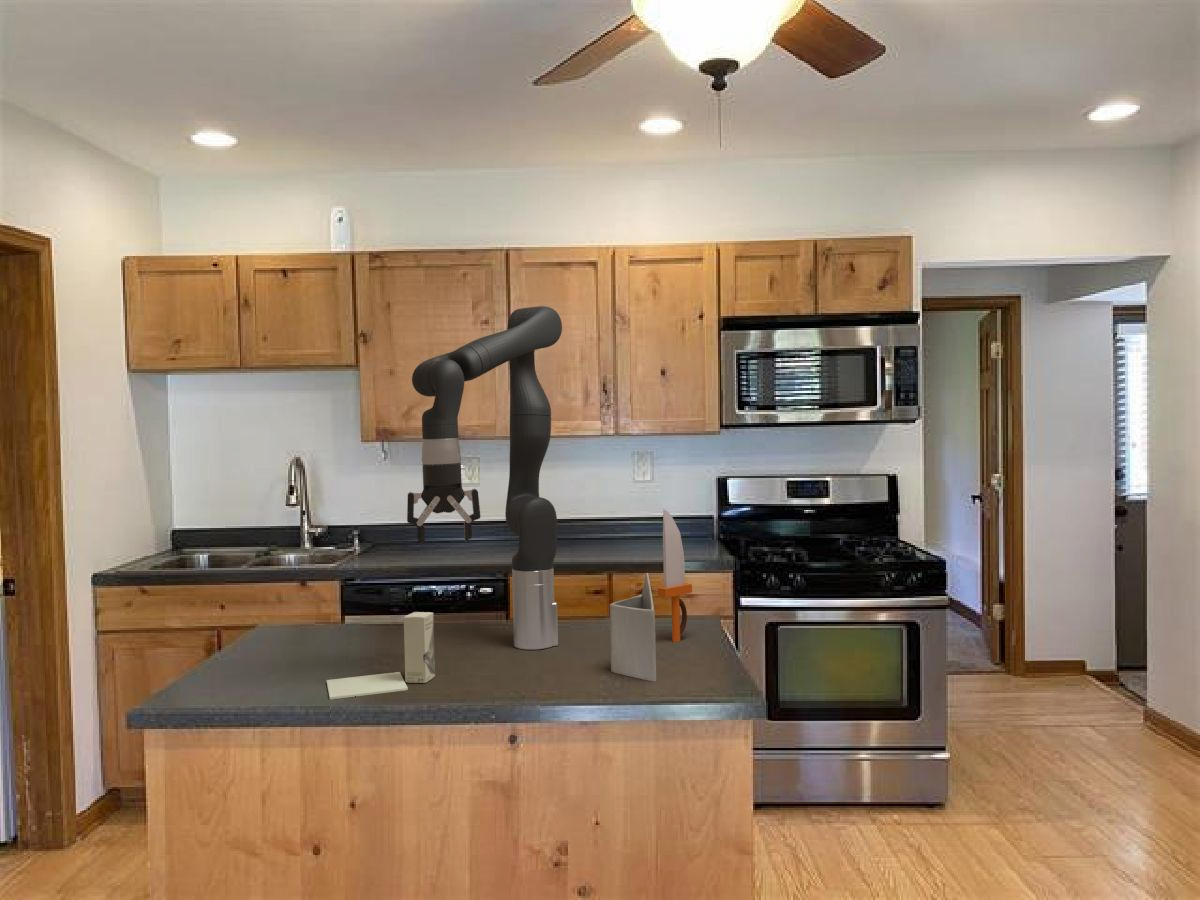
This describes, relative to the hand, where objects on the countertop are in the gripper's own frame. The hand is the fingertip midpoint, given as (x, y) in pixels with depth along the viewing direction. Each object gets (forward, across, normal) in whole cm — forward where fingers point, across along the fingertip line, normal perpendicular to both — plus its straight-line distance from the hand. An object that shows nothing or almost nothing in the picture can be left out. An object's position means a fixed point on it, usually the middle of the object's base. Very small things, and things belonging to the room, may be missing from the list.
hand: (445, 543), depth 177 cm
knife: (+27, -50, -12) cm, 58 cm away
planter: (+27, -35, +9) cm, 45 cm away
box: (+26, +6, +3) cm, 27 cm away
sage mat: (+26, +16, +4) cm, 31 cm away
